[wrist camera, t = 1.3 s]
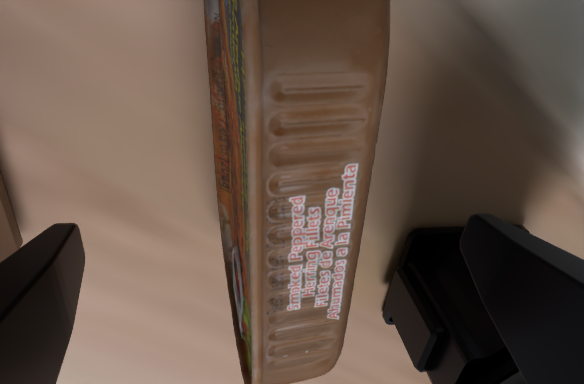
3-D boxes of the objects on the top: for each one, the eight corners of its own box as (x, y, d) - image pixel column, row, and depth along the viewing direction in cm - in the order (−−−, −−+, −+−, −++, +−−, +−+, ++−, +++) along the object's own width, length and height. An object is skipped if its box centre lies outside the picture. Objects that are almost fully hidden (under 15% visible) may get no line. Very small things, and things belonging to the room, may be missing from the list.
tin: (191, -162, 11) (177, -286, 4) (309, -153, 11) (470, -248, 5) (221, 261, 19) (232, 456, 12) (288, 255, 20) (334, 438, 13)
